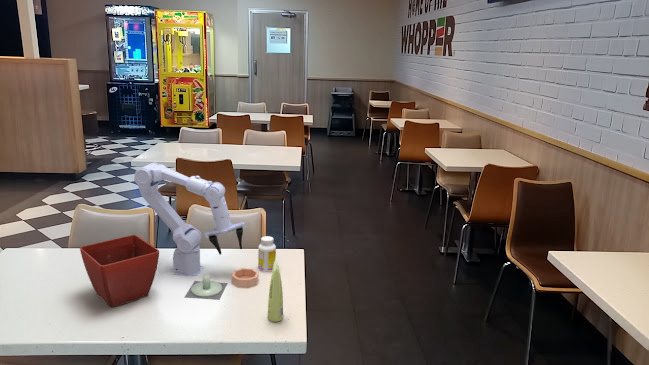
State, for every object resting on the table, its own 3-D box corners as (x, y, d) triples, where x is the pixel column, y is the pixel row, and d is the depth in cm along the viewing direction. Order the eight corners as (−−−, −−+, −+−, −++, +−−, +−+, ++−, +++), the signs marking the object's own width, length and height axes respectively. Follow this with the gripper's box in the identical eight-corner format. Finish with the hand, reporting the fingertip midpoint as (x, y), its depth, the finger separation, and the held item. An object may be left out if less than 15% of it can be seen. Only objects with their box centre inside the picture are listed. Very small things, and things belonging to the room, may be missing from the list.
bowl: (230, 287, 174) (230, 278, 173) (235, 276, 183) (235, 267, 182) (255, 289, 174) (255, 280, 173) (259, 277, 182) (259, 269, 182)
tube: (262, 317, 157) (263, 261, 151) (274, 311, 160) (275, 256, 155) (275, 324, 153) (276, 267, 148) (286, 318, 157) (288, 262, 152)
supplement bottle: (277, 266, 193) (277, 235, 189) (273, 273, 186) (274, 242, 183) (260, 264, 193) (260, 234, 190) (256, 272, 187) (256, 241, 183)
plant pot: (137, 276, 179) (135, 233, 174) (162, 296, 166) (160, 250, 161) (82, 292, 166) (78, 246, 161) (105, 316, 153) (101, 266, 148)
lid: (187, 296, 166) (186, 282, 164) (196, 282, 176) (195, 268, 174) (217, 298, 166) (217, 284, 164) (225, 283, 176) (224, 270, 174)
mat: (184, 298, 165) (184, 297, 165) (194, 282, 177) (194, 280, 177) (219, 301, 165) (219, 299, 165) (227, 284, 177) (227, 282, 176)
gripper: (200, 224, 172) (210, 259, 175) (241, 213, 174) (250, 249, 177) (201, 219, 178) (211, 253, 181) (241, 209, 180) (249, 243, 184)
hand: (230, 250), depth 180 cm, fingers open, 7 cm apart
